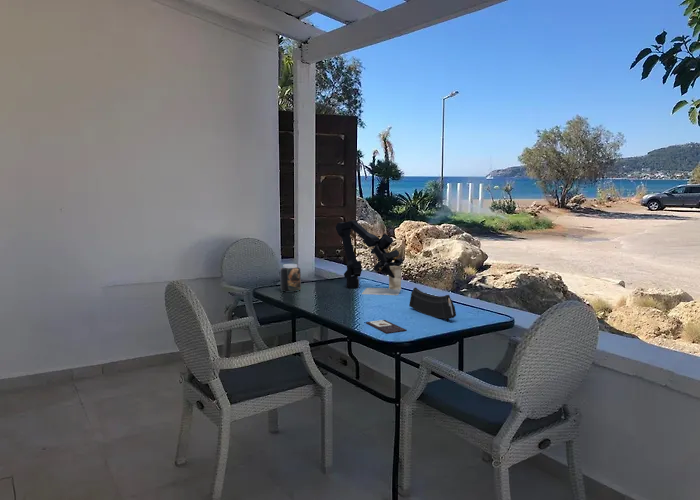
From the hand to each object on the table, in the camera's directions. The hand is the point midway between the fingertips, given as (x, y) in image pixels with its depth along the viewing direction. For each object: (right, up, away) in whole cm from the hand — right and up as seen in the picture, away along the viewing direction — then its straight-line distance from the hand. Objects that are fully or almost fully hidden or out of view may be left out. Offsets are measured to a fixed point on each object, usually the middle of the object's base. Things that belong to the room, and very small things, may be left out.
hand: (396, 276), depth 263 cm
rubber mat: (-7, -9, +10) cm, 15 cm away
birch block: (-1, -6, +2) cm, 7 cm away
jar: (-59, -9, +18) cm, 62 cm away
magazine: (+11, -15, -44) cm, 47 cm away
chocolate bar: (-11, -18, -63) cm, 66 cm away
